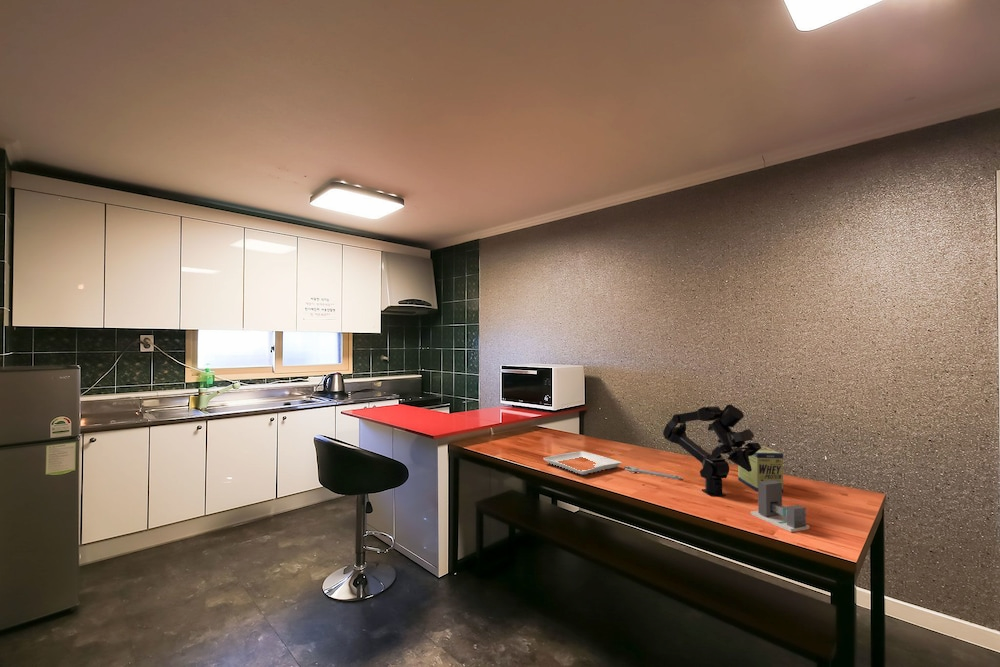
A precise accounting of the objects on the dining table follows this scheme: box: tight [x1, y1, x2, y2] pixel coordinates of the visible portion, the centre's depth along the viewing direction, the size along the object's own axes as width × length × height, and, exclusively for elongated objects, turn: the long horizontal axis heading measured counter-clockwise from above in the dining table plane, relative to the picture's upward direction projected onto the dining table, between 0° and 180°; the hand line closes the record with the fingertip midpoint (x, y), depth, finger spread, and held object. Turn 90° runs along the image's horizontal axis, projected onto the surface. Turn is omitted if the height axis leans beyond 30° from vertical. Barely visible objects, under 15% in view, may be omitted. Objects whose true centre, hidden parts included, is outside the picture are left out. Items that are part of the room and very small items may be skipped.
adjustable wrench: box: [623, 465, 682, 481], centre depth 189 cm, size 25×6×2 cm, turn 52°
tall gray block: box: [757, 480, 783, 516], centre depth 143 cm, size 3×7×11 cm, turn 107°
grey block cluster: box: [770, 502, 807, 528], centre depth 140 cm, size 14×5×6 cm, turn 17°
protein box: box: [737, 444, 784, 493], centre depth 176 cm, size 10×16×16 cm
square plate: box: [542, 450, 623, 475], centre depth 202 cm, size 27×27×4 cm
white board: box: [750, 509, 810, 533], centre depth 140 cm, size 14×8×1 cm, turn 17°
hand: (750, 471), depth 150 cm, fingers closed
